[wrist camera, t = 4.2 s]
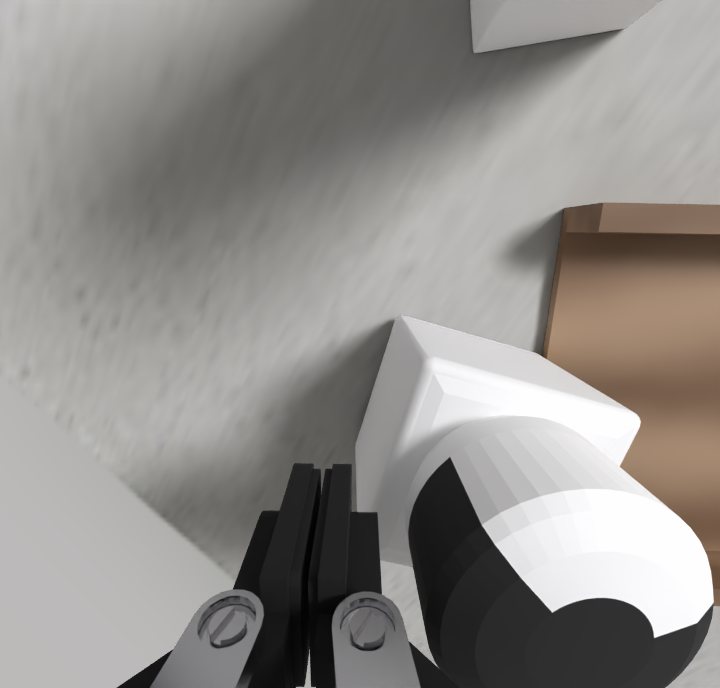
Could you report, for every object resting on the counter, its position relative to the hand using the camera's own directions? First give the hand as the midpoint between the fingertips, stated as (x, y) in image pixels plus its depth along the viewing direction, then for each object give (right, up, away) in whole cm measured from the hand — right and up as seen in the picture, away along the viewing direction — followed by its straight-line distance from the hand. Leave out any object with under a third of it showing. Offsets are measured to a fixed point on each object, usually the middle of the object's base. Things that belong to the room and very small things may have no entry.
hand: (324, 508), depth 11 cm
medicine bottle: (+5, +2, +8) cm, 10 cm away
